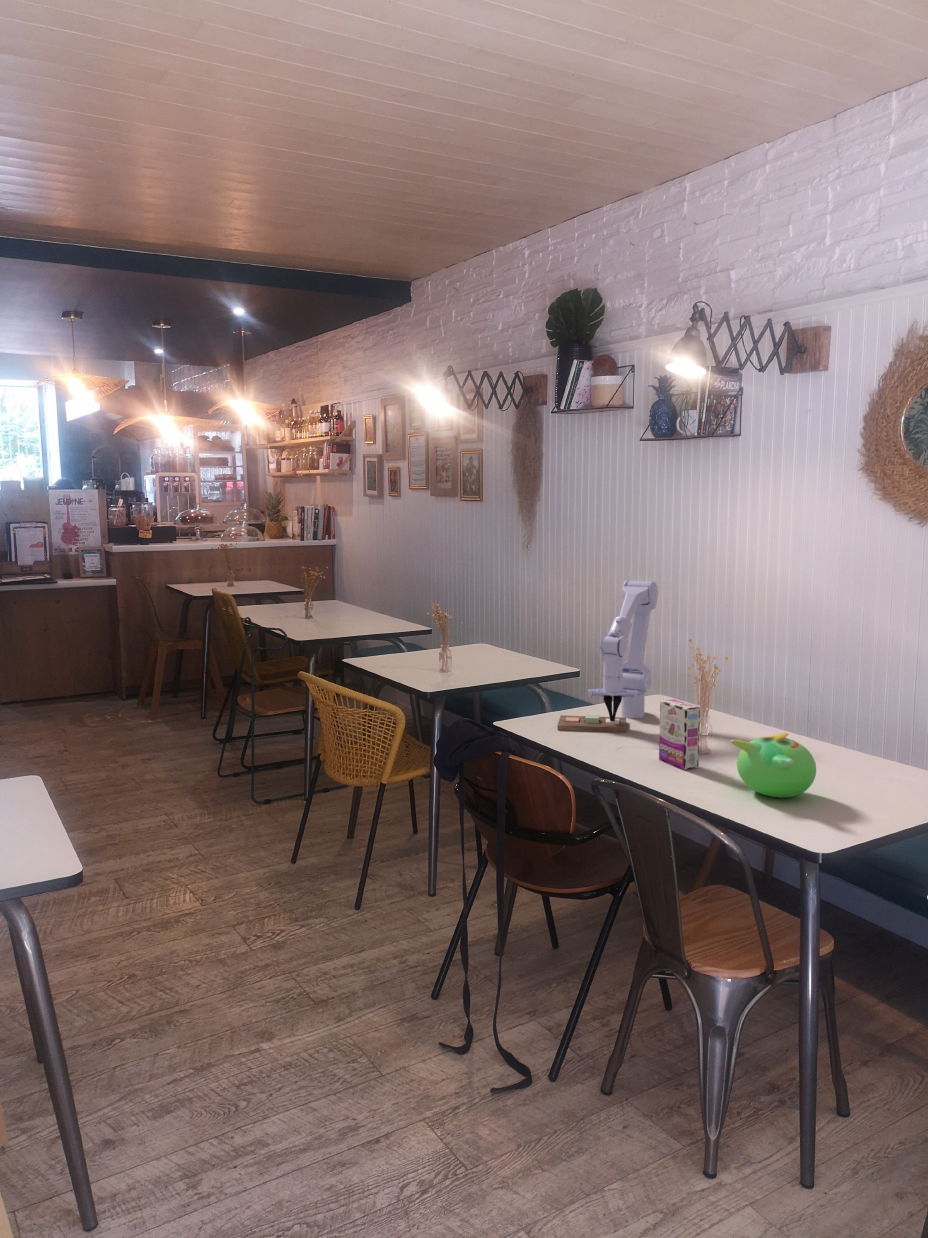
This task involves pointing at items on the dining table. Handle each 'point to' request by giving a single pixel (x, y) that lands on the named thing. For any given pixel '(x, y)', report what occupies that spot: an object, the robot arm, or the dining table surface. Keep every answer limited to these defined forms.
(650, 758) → the dining table surface
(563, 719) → the button panel
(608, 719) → the cream button
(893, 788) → the dining table surface
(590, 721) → the sage button
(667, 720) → the candy bar box
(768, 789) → the toy bird
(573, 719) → the terracotta button
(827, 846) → the dining table surface
